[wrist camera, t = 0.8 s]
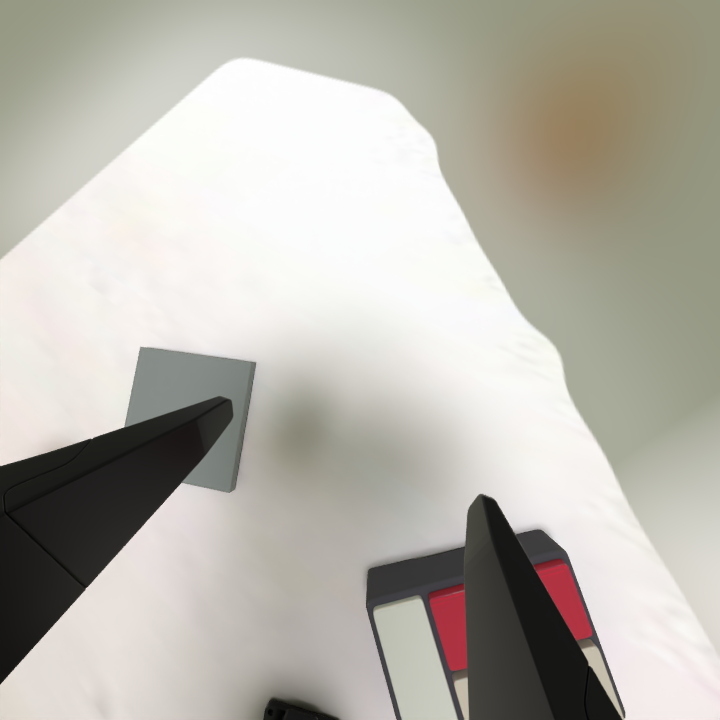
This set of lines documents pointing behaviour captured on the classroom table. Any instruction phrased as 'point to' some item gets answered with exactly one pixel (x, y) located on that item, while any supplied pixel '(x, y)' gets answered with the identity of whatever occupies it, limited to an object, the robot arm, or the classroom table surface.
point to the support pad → (190, 386)
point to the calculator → (458, 627)
